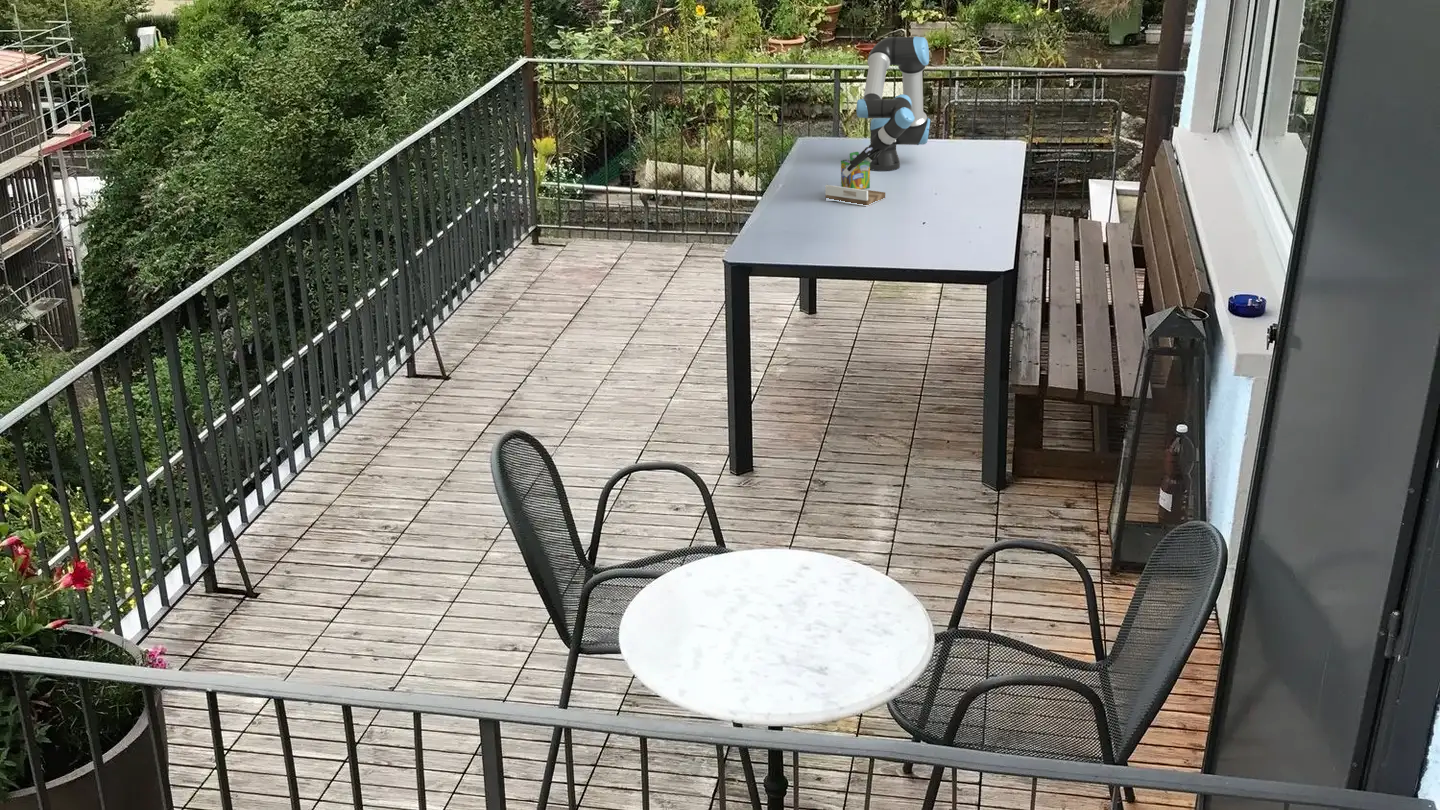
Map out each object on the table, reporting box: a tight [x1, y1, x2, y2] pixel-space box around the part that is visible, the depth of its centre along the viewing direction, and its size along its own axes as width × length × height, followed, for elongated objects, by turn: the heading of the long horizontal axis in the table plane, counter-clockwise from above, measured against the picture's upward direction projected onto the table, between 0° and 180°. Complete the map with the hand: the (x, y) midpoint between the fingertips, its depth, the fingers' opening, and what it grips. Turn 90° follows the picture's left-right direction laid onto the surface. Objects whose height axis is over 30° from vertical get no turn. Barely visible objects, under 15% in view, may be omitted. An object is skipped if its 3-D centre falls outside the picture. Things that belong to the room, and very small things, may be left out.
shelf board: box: [824, 184, 886, 206], centre depth 564 cm, size 15×20×6 cm
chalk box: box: [840, 151, 871, 190], centre depth 563 cm, size 9×9×15 cm
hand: (852, 171), depth 564 cm, fingers closed on chalk box, 11 cm apart
